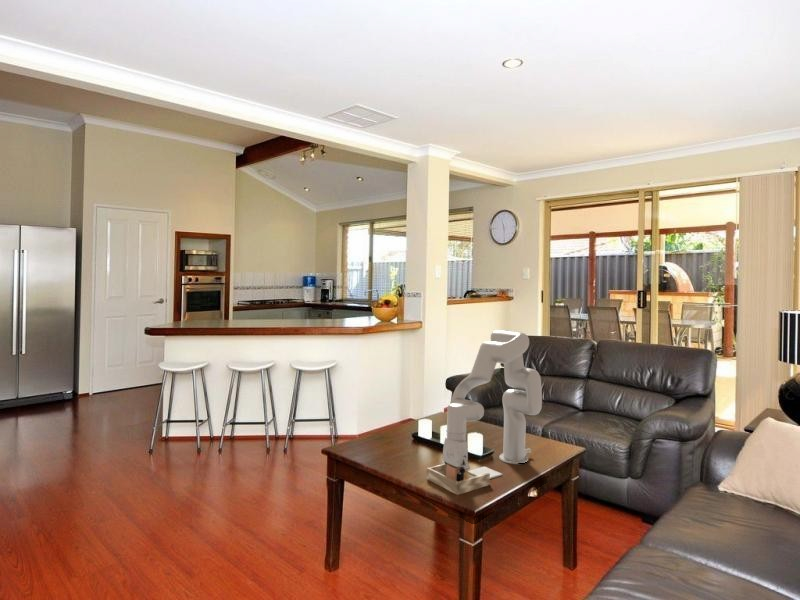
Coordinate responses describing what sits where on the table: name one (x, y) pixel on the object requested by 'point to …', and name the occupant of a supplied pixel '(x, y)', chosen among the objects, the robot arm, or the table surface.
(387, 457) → the table surface
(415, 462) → the table surface
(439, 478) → the birch box
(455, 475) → the terracotta cube
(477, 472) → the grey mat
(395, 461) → the table surface
